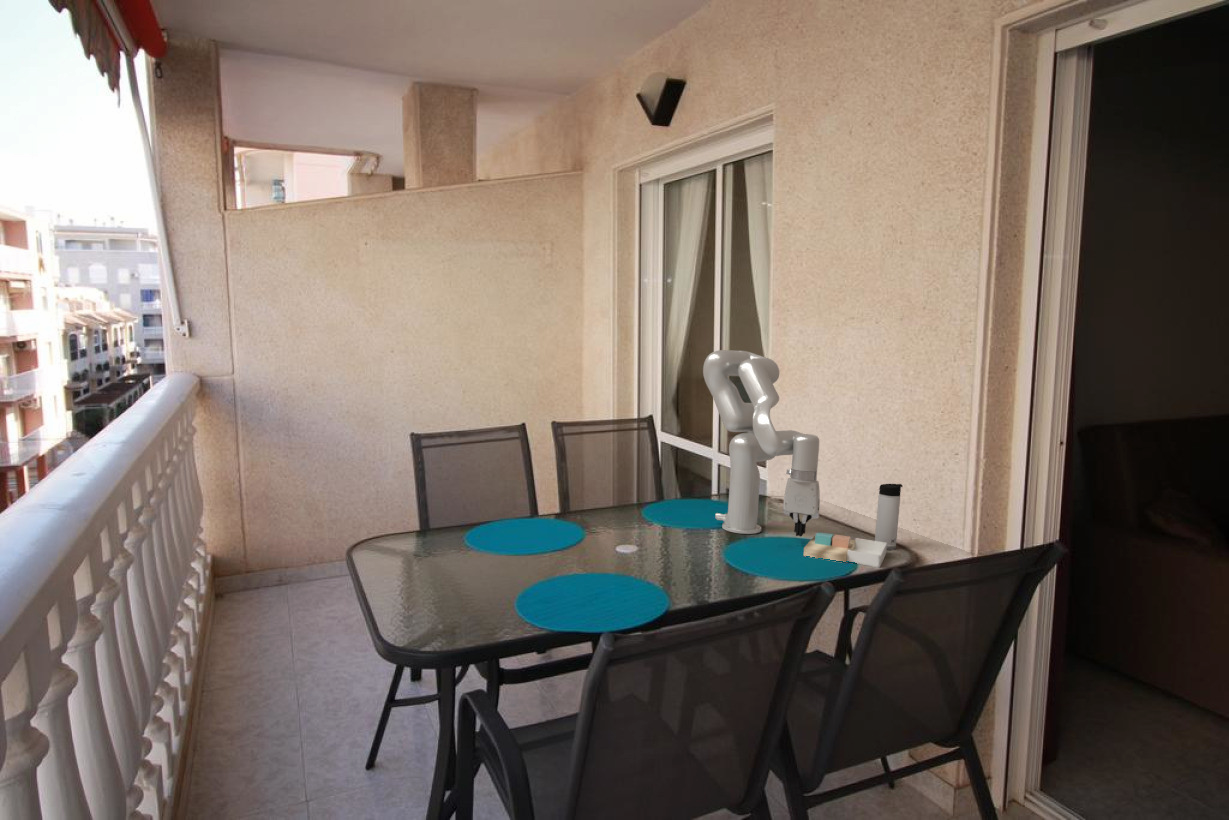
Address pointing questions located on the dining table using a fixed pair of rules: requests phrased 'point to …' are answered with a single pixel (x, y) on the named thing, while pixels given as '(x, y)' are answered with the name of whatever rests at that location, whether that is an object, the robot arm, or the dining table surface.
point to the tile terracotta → (841, 541)
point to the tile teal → (823, 538)
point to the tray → (867, 552)
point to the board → (827, 551)
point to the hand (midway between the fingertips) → (799, 535)
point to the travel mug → (888, 514)
